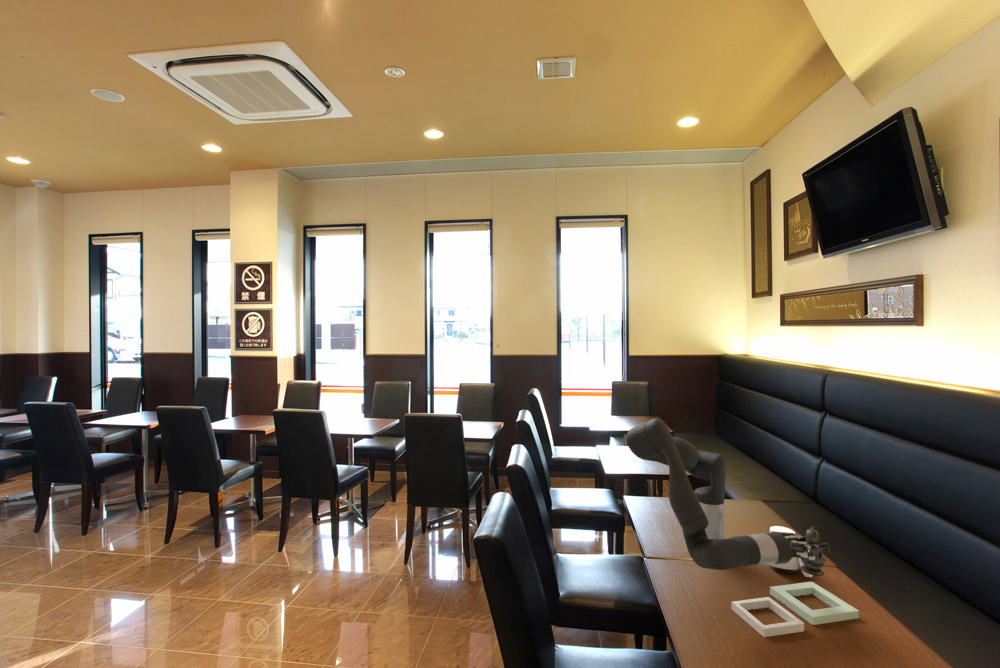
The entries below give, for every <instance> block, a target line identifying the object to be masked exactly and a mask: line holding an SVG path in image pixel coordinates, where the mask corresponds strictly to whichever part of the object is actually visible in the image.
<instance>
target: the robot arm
mask: <svg viewBox="0 0 1000 668" xmlns="http://www.w3.org/2000/svg"><path fill="white" fill-rule="evenodd" d="M626 444H627V447H628V449H629V450H630V451H631V452H632V454H633V455H635V456H636V457H637V458H639V459H640V460H644V461H651V462H656V463H660V464H662V465H666V466H668V469H669V470H668V471H669V473H668V474H669V478H668V479H669V482H668V500H669V504H670V507H671V509H672V511H673V513H674V515H675V517H676V519H677V521H678V523H679V525H680V527H681V529H682V533H683V538H684V542H685V544H686V548H687V551H688V554H689V556H690V558H691V559H692V561H693V562H694V564H696V565H697V567H700V568H701V569H708V570H709V569H710V570H715V571H723V570H731V569H735V568H738V567H749V566H770V565H773V564H784V563H788V562H789V561H790V560H791V559H792V558H793V557H796V558H801V557H804V558H807V559H808V562H809V563H814V562H816V561H818V560H820V559H822V557H823V554H824V553H830V549H831V548H830V545H831V544H829V543H827V542H823V543H822V542H821V543H820V542H819V544H809V543H807V542H805V541H806V536H802V535H796V533H795V534H794V533H786V532H774V531H772V532H771V533H770V532H761V533H752V534H748V535H739V536H733V537H729V538H725V496H726V480H727V479H726V478H727V477H726V476H727V461H726V458H725V456H724V455H723V454H722V453H721V454H720V453H716V452H715V453H714V452H709V451H705V450H697V448H696V447H695V445H694V444H693V443H691V442H689V440H685V439H684V438H680V437H676V436H673V435H672V433H671V431H670V429H669V428H668V426H667V424H666V423H665V422H664V421H663V420H662V419H660V418H659V417H658V418H657V417H655V418H652V419H649V420H648V421H647V420H646V421H645V422H643V423H640V424H638V425H635V426H634V427H632V428H631V429H629V430H628V431H627V434H626ZM687 473H688V474H690V475H692V477H694V478H697V479H701V480H705V481H710V485H709V486H702V487H698V488H696V489H694V488H693V487H692V485H691V482H690V480H689V477H688V474H687ZM810 548H813V550H811V551H810Z"/></svg>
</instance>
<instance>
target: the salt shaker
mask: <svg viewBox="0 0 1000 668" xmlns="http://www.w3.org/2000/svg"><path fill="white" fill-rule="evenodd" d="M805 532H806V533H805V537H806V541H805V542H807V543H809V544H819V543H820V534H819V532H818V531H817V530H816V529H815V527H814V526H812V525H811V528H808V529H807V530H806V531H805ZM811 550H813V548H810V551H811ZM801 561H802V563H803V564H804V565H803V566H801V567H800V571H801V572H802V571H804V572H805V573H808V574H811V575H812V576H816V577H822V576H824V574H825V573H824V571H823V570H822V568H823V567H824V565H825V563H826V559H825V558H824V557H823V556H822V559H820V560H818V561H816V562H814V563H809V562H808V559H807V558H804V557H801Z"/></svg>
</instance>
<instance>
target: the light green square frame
mask: <svg viewBox="0 0 1000 668" xmlns="http://www.w3.org/2000/svg"><path fill="white" fill-rule="evenodd" d="M810 594H811V595H812V594H813V597H816V598H817V599H819V600H820V601H822V602H823V603H825V604H827V606H829V607H825V608H819V609H811V607H809V606H807V605H806V604H805V603H803V602H801V601H800V600H799V599H797V598H796V597H801V595H803V596H809V595H810ZM769 595H771V596H772V597H773V596H774V597H773V598H775V599H776V600H777V601H779V602H780V601H781V602H780V603H781V604H783V605H784V604H785V605H784V606H786V607H787V608H788V609H790V610H791V611H793V612H794V613H795V614H797V615H798V616H799V617H800V618H802V619H803V620H805V621H806V622H807V623H809V624H811V625H812V626H816V625H822V624H829V623H836V622H842V621H850V620H855V619H856V620H857V619H859V618H860V614H859V612H860V610H859V609H857V608H855V607H854V606H852V605H850V603H847V601H846V602H845V601H844V600H843V599H841V598H839V597H838V596H836V595H835V594H833V593H832V592H830V591H828V590H826V589H825V588H823V587H821V586H820V585H819V584H817V583H816V582H813V581H805V582H797V583H791V584H783V585H782V584H781V585H774V586H769ZM793 596H795V597H793Z"/></svg>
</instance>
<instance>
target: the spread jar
mask: <svg viewBox="0 0 1000 668" xmlns="http://www.w3.org/2000/svg"><path fill="white" fill-rule="evenodd" d="M772 531H774V532H786V533H794V534H795V535H796V532H795V530H792V529H791V528H789V527H785V526H782V525H781V526H780V525H773V526H770V527H769V533H771V532H772ZM803 565H804V564H803V563H802V561H801V558H796V557H793V558H792V559H791V560H790V561H789V562H788V563H784V564H773V565H769V567H770V568H771V569H773V570H774V569H775V570H774V571H776V572H779V571H780V572H779V573H783V572H785V573H784V574H793V573H796V572H798V570H799V566H800V567H801V566H803ZM801 572H802V574H803V576H804V577H805V578H813V575H811V574H808V573H805V572H804V571H802V570H801Z"/></svg>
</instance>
